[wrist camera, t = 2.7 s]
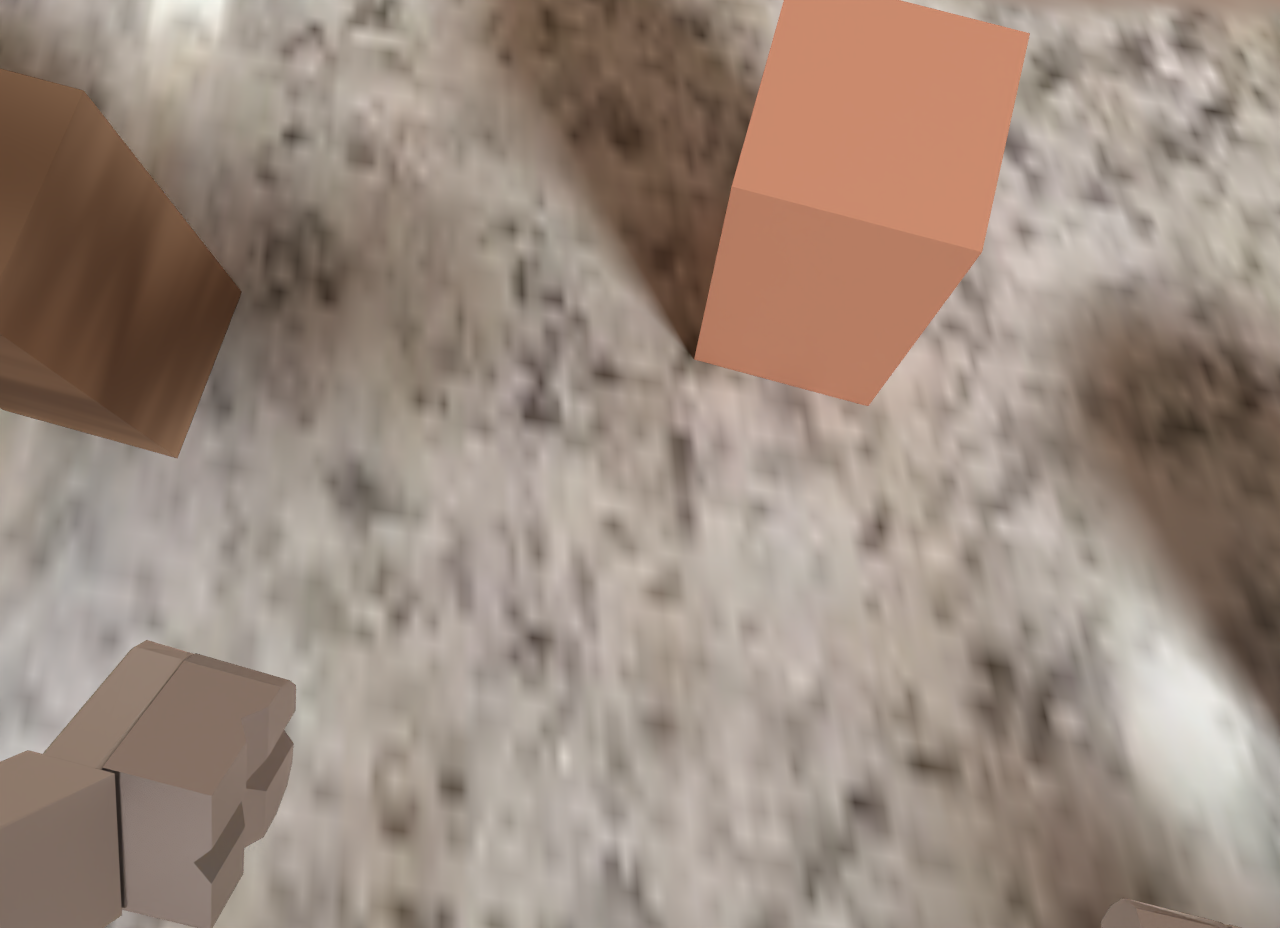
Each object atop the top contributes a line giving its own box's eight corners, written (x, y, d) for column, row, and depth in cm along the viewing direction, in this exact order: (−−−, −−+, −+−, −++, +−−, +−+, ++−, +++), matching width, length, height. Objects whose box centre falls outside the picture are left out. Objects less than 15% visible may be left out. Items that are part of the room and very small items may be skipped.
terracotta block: (867, 406, 29) (982, 251, 20) (694, 359, 29) (732, 186, 20) (905, 246, 30) (1029, 34, 21) (737, 201, 30) (791, -28, 21)
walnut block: (177, 458, 28) (-19, 320, 19) (2, 409, 28) (-270, 251, 19) (241, 292, 29) (83, 90, 20) (73, 246, 29) (-156, 27, 20)
